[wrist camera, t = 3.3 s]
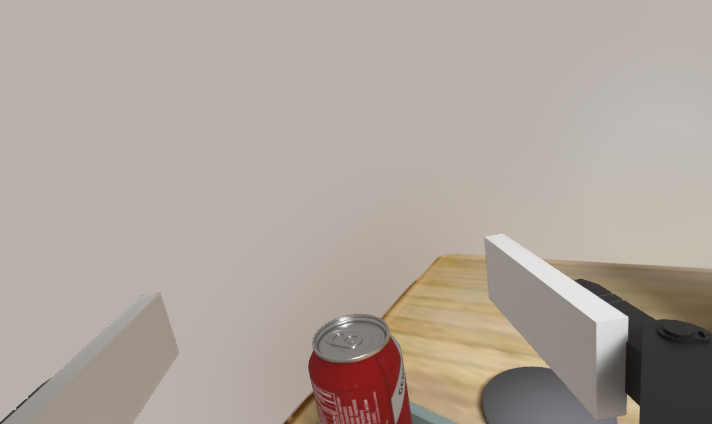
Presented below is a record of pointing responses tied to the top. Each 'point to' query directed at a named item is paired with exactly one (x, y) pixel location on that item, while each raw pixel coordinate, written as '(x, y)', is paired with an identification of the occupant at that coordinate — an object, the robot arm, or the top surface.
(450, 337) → the top surface
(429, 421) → the holder
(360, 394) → the soda can
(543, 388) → the disc
